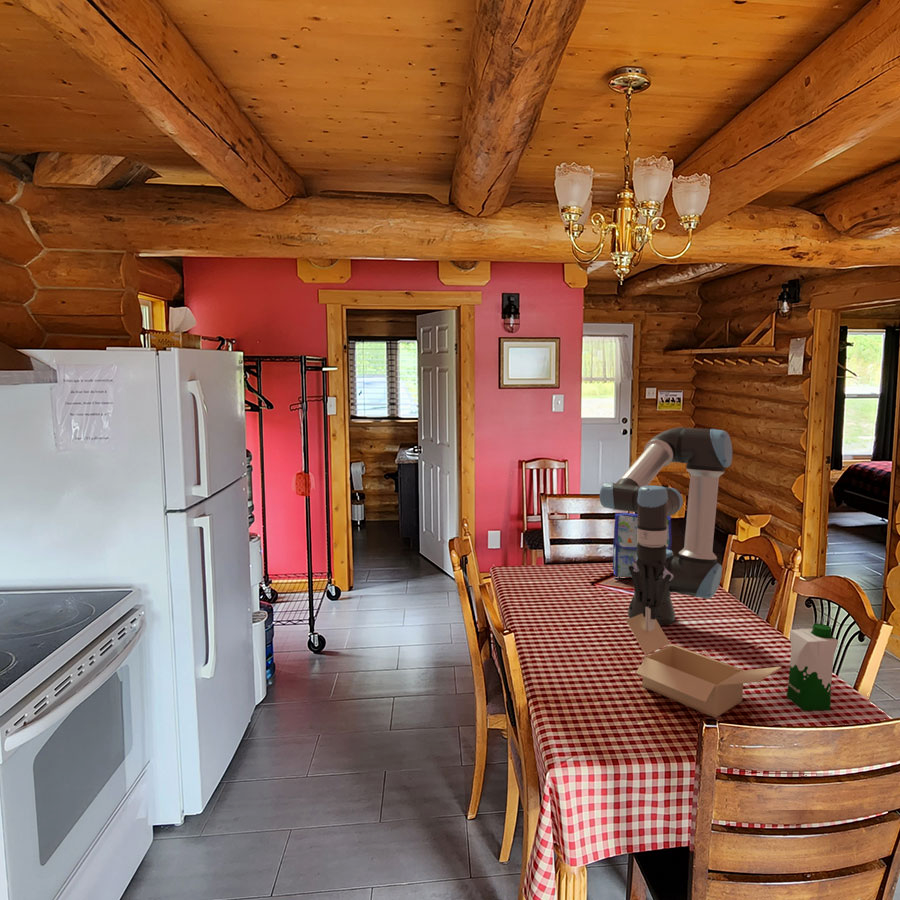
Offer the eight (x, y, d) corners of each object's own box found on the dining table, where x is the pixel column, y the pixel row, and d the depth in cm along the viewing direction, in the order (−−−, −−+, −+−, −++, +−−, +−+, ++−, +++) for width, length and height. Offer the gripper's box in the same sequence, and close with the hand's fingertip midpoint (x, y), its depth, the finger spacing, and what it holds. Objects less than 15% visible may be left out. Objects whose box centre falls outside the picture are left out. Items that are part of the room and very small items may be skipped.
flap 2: (719, 683, 155) (758, 680, 147) (742, 670, 162) (781, 666, 155) (720, 685, 155) (759, 681, 147) (743, 671, 162) (781, 667, 155)
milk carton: (836, 711, 159) (843, 633, 157) (801, 713, 158) (807, 634, 156) (813, 694, 168) (819, 619, 165) (780, 695, 167) (785, 620, 164)
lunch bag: (613, 581, 258) (616, 517, 255) (610, 569, 274) (613, 508, 271) (672, 585, 254) (675, 519, 251) (665, 572, 271) (668, 511, 268)
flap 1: (645, 655, 170) (625, 620, 174) (669, 644, 178) (649, 610, 182) (646, 654, 170) (626, 619, 174) (670, 643, 177) (650, 610, 182)
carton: (632, 691, 168) (634, 661, 167) (678, 668, 182) (680, 640, 181) (706, 724, 153) (708, 691, 152) (750, 695, 166) (752, 665, 165)
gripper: (623, 542, 176) (621, 626, 178) (665, 550, 166) (663, 640, 168) (638, 537, 181) (637, 620, 183) (681, 545, 171) (679, 632, 173)
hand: (650, 629), depth 176 cm, fingers closed
